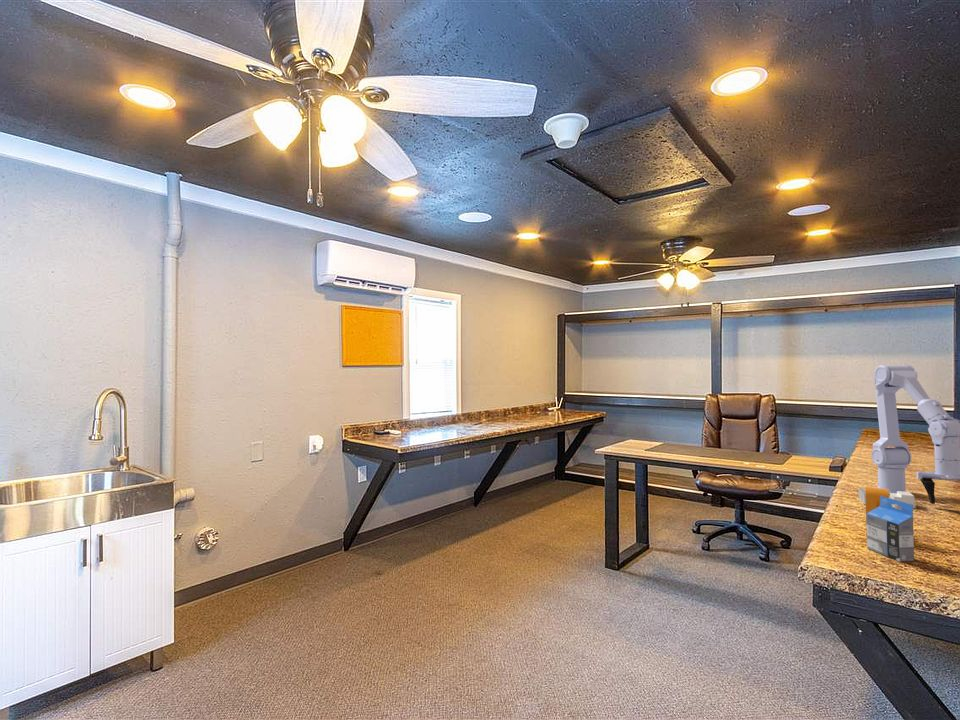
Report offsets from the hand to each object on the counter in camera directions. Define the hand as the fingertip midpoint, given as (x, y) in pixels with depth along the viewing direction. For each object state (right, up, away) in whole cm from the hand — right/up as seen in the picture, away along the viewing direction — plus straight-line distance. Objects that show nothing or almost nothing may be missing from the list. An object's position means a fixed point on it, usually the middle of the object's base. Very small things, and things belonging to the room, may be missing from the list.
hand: (948, 504), depth 156 cm
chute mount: (-15, -2, +8) cm, 18 cm away
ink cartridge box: (-49, -1, -39) cm, 62 cm away
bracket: (-39, -1, -26) cm, 47 cm away
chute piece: (-10, -2, +5) cm, 11 cm away
